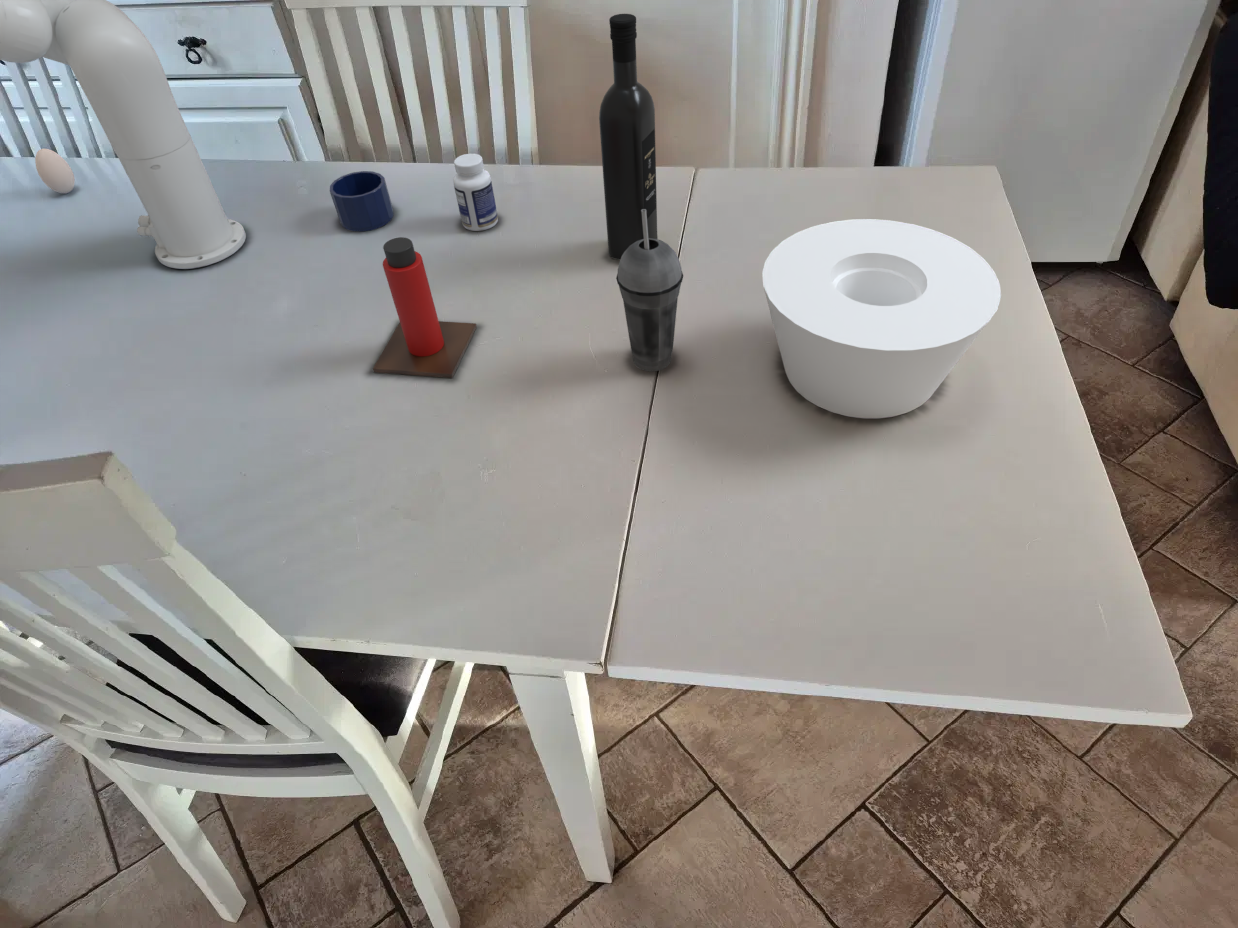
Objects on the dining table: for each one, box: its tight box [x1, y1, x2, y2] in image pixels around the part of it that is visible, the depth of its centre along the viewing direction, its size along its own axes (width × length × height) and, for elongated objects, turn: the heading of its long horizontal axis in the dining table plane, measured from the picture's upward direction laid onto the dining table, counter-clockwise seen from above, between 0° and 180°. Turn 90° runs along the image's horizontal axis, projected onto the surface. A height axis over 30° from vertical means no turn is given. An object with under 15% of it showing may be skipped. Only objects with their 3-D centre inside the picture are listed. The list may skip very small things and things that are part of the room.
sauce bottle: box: [382, 236, 444, 357], centre depth 95 cm, size 4×4×14 cm
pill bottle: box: [452, 153, 499, 232], centre depth 117 cm, size 5×5×10 cm
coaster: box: [372, 320, 477, 379], centre depth 100 cm, size 10×10×1 cm
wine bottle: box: [598, 13, 658, 261], centre depth 102 cm, size 6×6×30 cm
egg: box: [34, 148, 76, 195], centre depth 132 cm, size 5×5×7 cm
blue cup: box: [329, 170, 395, 232], centre depth 121 cm, size 8×8×6 cm
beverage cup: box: [615, 209, 684, 372], centre depth 89 cm, size 7×7×20 cm
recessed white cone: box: [761, 218, 1002, 419], centre depth 89 cm, size 24×24×12 cm
